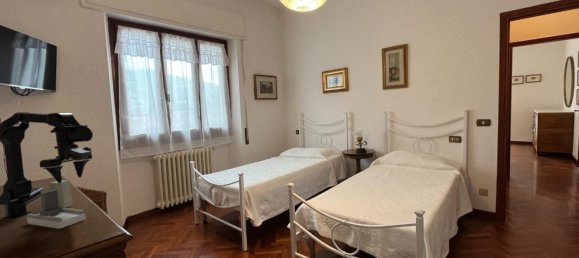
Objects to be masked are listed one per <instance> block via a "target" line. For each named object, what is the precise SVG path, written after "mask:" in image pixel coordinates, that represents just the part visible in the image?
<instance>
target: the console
mask: <svg viewBox="0 0 579 258" xmlns="http://www.w3.org/2000/svg"><path fill="white" fill-rule="evenodd" d="M26 219H27V224H29V225H32V226H33V225H35V226H41V227H47V228H53V229H58V230H60V228H61V229H63V228H66V227H68V226H71V225H74V224H77V223H79V222H82V221H85V220H86V210H84V209H77V208H73V207H72V208H70V207H67V208H64V207H63V208H62V212H60V213H57V214H54V215H50V216H44V215H41V214H40V213H38V214H35V213H27V214H26Z"/></svg>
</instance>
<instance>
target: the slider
mask: <svg viewBox="0 0 579 258" xmlns="http://www.w3.org/2000/svg"><path fill="white" fill-rule="evenodd" d="M39 193H40V201H41V209H40V210H39V214H41V215H44V216H50V215H54V214H57V213H60V212H62V207H59V202H58V193H57V190H51V189H50V190H46V191H42V192H39Z"/></svg>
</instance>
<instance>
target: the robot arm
mask: <svg viewBox="0 0 579 258" xmlns="http://www.w3.org/2000/svg"><path fill="white" fill-rule="evenodd" d="M30 123H36V124H37V123H38V124H47V125H48V126H51V127H54V128H53V129H51V130H50V134H53V133H55V134H54V135H55V139H56V146H55V145H54V149H55V150H57V156H55V158H46V159H41V160H40V162H39V168H41V169H42V168H43V170H46V171H47V172H48V173H49V174H50V175H51V176H52V177H53V178H54V180H55V181H57V182H58V183H61V182H62V180H63V179H62V169H63V167H64V166H63V165H62V164H65V163H68V162H72V163H73V167H74V169H75V172H76V175H77V177H78V178H82V176H83V172H84V168H85V166H86V164H87V163H88V162H90V161H91V160H92V159H93V155H92V148H91V147H90V146H85V147H83V148H80V147H79V145H78V143H81V142H82V143H84V142H89V141H91V140H92V139H93V137H94V133H93V132H92V130H91V129H90V127H88V125H87V124H81V123H80V122H79V121H78V120H77V119H76V117H75V116H74V114H73V113H71V112H51V113H35V112H33V113H32V112H27V111H26V112H25V111H23V112H22V111H21V112H20V111H18V112H14V114H13V115H12V116H10V117H9V118H7V119H5V120H3V121H2V122H0V143H1V144H2V145H3V147H4V156H5V157H4V158H5V168H6V175H7V179H6V181H5V183H4V184H3V187H2V188H3V189H2V193H1V194H0V206H4V210H5V211H4V212H5V215H4V216H1V218H2V219H16V218H19V217H21V216H24V215H27V214H31V211H30V210H29V211H28V210H27V204H26V200H28V199H31V193H32V189H33V186H32V180H31V179H27V178H26V177H25V171H24V163H23V154H22V145H21V144H22V142H23V141H24V139H25V136H26V131H27V130H28V129H29V128H30ZM75 143H77V144H75Z"/></svg>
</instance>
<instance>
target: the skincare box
mask: <svg viewBox="0 0 579 258" xmlns="http://www.w3.org/2000/svg"><path fill="white" fill-rule="evenodd" d="M49 187H50V190H57V193H58V202H59V207H62V208H63V207H64V208H70V207H72V206H73V205H74V204H73V203H74V202H73V197H72V190H71V181H70V179H67V180H66V179H64V180H63V179H62V182H61V183H58V182H57V181H56V180H55V181H52V182H49Z"/></svg>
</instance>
